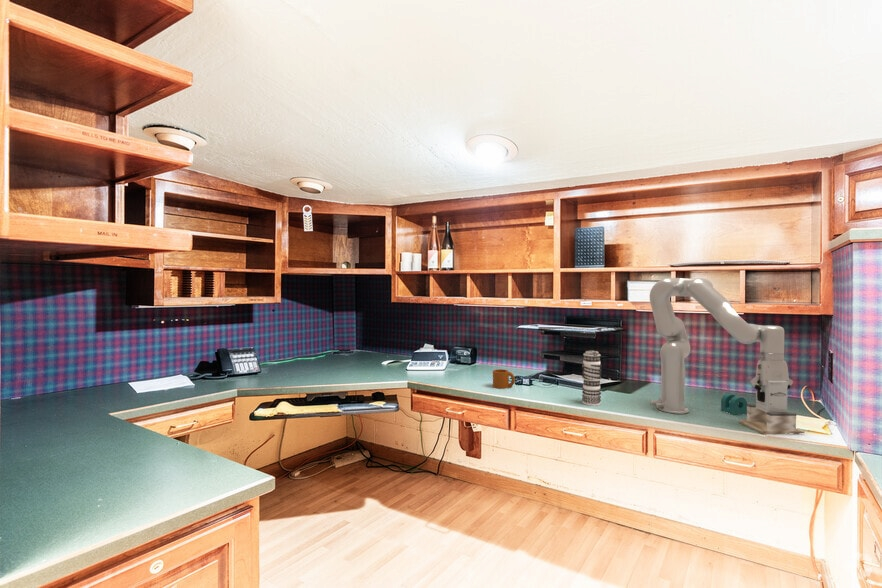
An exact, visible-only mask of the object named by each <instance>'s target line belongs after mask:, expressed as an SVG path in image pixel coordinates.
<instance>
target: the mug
mask: <svg viewBox="0 0 882 588" xmlns="http://www.w3.org/2000/svg"><path fill="white" fill-rule="evenodd" d="M509 377H510V378H511V382H510V378H509ZM515 381H516V378H515V375H514V373H513V372H511V371H509V370H507V369H492V388H494V389H499V390H500V389H501V390H503V389H505V390H506V389H508V388H511V387H512V386H514V385H515V383H516V382H515Z"/></svg>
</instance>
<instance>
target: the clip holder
mask: <svg viewBox="0 0 882 588" xmlns="http://www.w3.org/2000/svg"><path fill="white" fill-rule="evenodd" d="M740 423H741V425H742V426H745V427H747V428H748V429H751V430H753V431H755V432H757V433H759V434H762V435H790V434H789V433H794V434H793V435H798V434H797V433H804V434H805V430H802V429H799V428H797V413H796V412H793V411H792V412H791V411H790V412H789V411H787V412H765V411H762V410H760V409H758V408H756V403H747V415H746V419H745V420H744V419H743V420H742V419H738V424H740ZM796 428H797V429H796ZM785 433H787V434H785Z"/></svg>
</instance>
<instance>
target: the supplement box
mask: <svg viewBox="0 0 882 588" xmlns="http://www.w3.org/2000/svg"><path fill="white" fill-rule="evenodd" d="M760 381H761V380H759V382H760ZM756 384H757V385H758V383H757V382H756ZM761 384H762V383H761ZM761 387H762V385H761ZM787 387H788V381H768V386H765V389H764V391H763V392H765V402H761V401H758V400H757V390H756V389H755V404H756V408H758V409H760V410H762V411H765V412H788V391H787Z"/></svg>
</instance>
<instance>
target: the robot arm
mask: <svg viewBox="0 0 882 588" xmlns="http://www.w3.org/2000/svg"><path fill="white" fill-rule="evenodd" d="M671 297H686V298H693V299H694V300H695V301H696V302H697V303H698V304H699V305H700V306H701V307H703V309H705V310H706V311H707V312H708V313H709V314H710V315H711V316H712V317H713V318H714V320H715V321H717V322H718V324H719V325H720V326H721V328H723V329H724V330H725V331H726V332H727V333H728V334H730V335H731V336H732V337H733V338H734V339H735V340H736V341H737V342H738V343H741V344H743V345H750V344H753V343H755V342H759V343H760V345H759V353H758V354H757V357H758V358H759V359H758V361H757V365H756V371H755V372H756V373H755V376H754V377H753V378H752V379H750V380H749V384H751V385H752V387H753V388H754V389H755V391H756V390H757V400H758V401H761V402H765V392H763V391H764V389H765V386H768V381H788V387H787V392H788V390H789V389H790V388H791V386H792V385H793V383H794V380H793V379H791V378H790V375H789V367H788V364H787V361H786V360H785V329H784V327H782V326H780V325H760V324H755V323H748V322H747V321H745V320H744V319H743V317H742V316H740V315H739V314H738V313H737V312H736V310H735V309H734V307H733V305H732V303H731V302H730V301H729V300H728V299H727V298H726V297H725V296H724V295H723V294H721V293H720V292H719V291H718V290H717V289H716V288H715V287H714V286H713V283H712V282H711V281H710V280H709V279H707V278H686V277H685V278H684V277H683V278H681V277H665V278H662V279H659V280H658V281H657V282H656V283H654V285H653V286H652V288H650V292H649V302H650V308H651V310H652V315H653V319H654V323H655V327H656V330H657V333H658V335H660V337H662V338H665V343H663V344H662V346H661V348H660V352H659V356H660V365H661V368H660V369H661V373H660V374H661V375H660V376H661V377H660V379H661V381H660V398H658V399H657V400H649V404H650V405H651V406H656V409H658V411H661V412H664V413H669V414H677V415H678V414H679V415H680V414H681V415H683V414H688V413H689V411H690V410H689V408H688V407H686V406H685V405H686V403H685V401H686V399H685V398H686V364H685V359H686V358H687V357H688V356H689V355H690V353H691V344H690V341H689V337H688V333H687V329H686V326H685V323H684V322H683V320H682V319H681V318H680V317H678V316H676V315H675V311H674V308H673V305H672V302H671ZM759 380H761V381H760V382H759ZM756 382H757V383H758V385H757V384H756ZM761 383H762V384H761ZM761 385H762V387H761Z"/></svg>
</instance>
